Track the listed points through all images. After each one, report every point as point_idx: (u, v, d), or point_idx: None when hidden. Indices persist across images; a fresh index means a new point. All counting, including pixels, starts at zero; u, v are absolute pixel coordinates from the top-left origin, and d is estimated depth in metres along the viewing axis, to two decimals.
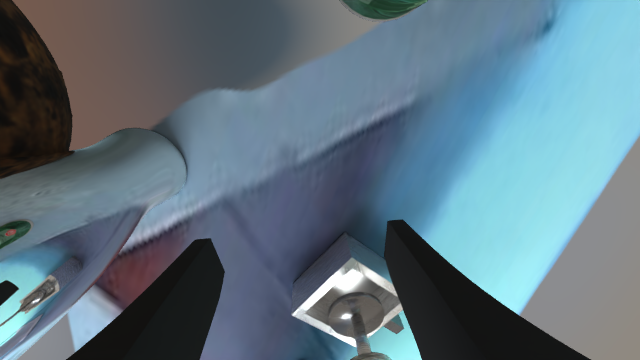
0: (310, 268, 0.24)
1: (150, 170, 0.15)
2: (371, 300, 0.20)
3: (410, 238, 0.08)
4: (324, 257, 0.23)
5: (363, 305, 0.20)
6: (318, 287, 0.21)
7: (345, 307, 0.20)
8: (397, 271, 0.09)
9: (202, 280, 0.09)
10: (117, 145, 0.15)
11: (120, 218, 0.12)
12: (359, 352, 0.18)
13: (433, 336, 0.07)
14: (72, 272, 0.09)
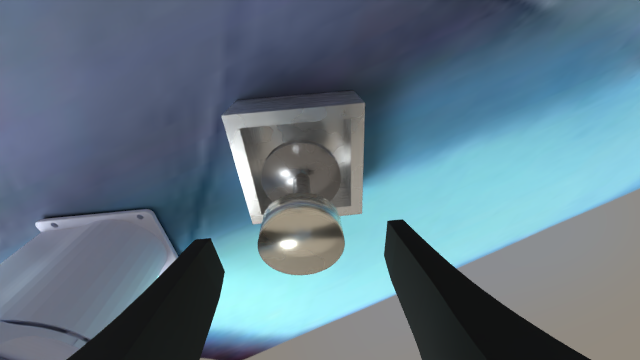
0: (278, 97, 0.16)
1: None
2: (337, 171, 0.14)
3: (410, 238, 0.08)
4: (309, 96, 0.16)
5: (324, 169, 0.14)
6: (290, 108, 0.13)
7: (304, 155, 0.14)
8: (397, 271, 0.09)
9: (202, 280, 0.09)
10: None
11: None
12: None
13: (433, 335, 0.07)
14: None
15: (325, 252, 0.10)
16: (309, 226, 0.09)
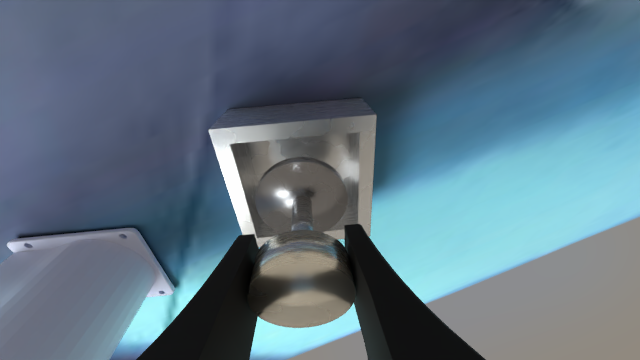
0: (275, 106, 0.14)
1: None
2: (344, 192, 0.12)
3: (360, 243, 0.08)
4: (311, 104, 0.14)
5: (328, 191, 0.12)
6: (289, 121, 0.11)
7: (305, 175, 0.12)
8: None
9: (251, 275, 0.09)
10: None
11: None
12: None
13: (373, 342, 0.07)
14: None
15: (332, 303, 0.08)
16: (312, 276, 0.07)
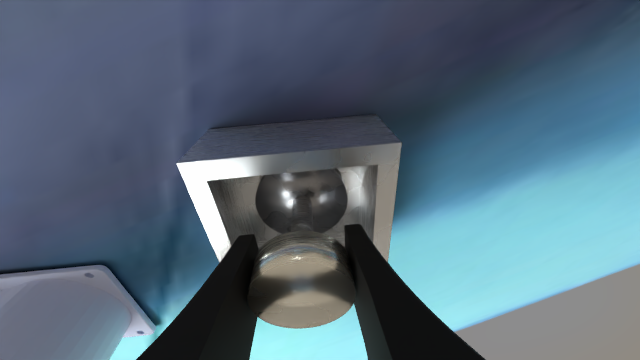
0: (268, 125, 0.11)
1: None
2: (344, 193, 0.12)
3: (360, 243, 0.08)
4: (314, 124, 0.11)
5: (328, 191, 0.12)
6: (285, 151, 0.09)
7: (305, 175, 0.12)
8: None
9: (250, 275, 0.09)
10: None
11: None
12: None
13: (372, 342, 0.07)
14: None
15: (332, 304, 0.08)
16: (312, 277, 0.07)
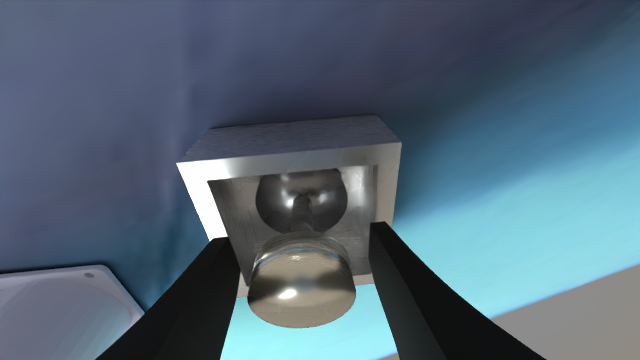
0: (268, 125, 0.11)
1: None
2: (344, 192, 0.12)
3: (390, 240, 0.08)
4: (314, 124, 0.11)
5: (328, 191, 0.12)
6: (285, 151, 0.09)
7: (305, 175, 0.12)
8: (379, 273, 0.09)
9: (222, 278, 0.09)
10: None
11: None
12: None
13: (409, 338, 0.07)
14: None
15: (332, 304, 0.08)
16: (312, 277, 0.07)
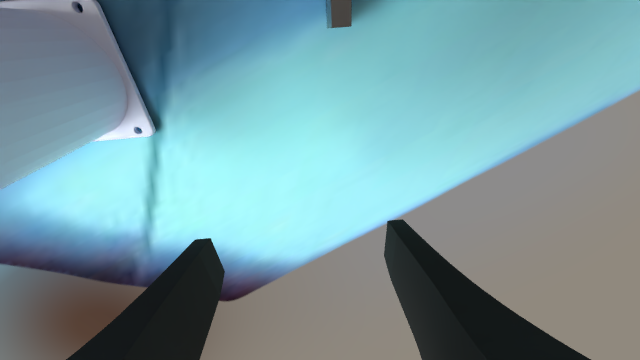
0: None
1: None
2: None
3: (410, 238, 0.08)
4: None
5: None
6: None
7: None
8: (397, 271, 0.09)
9: (202, 280, 0.09)
10: None
11: None
12: None
13: (434, 336, 0.07)
14: None
15: None
16: None
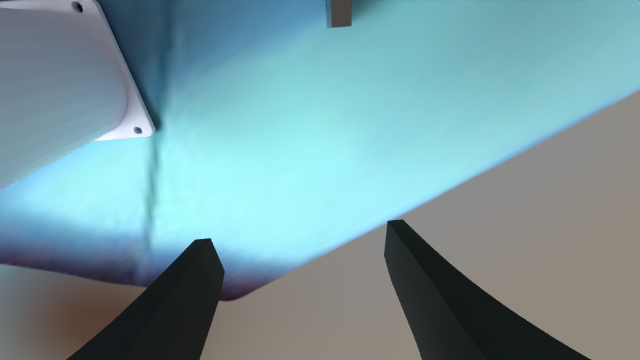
0: None
1: None
2: None
3: (410, 238, 0.08)
4: None
5: None
6: None
7: None
8: (397, 271, 0.09)
9: (202, 280, 0.09)
10: None
11: None
12: None
13: (433, 336, 0.07)
14: None
15: None
16: None
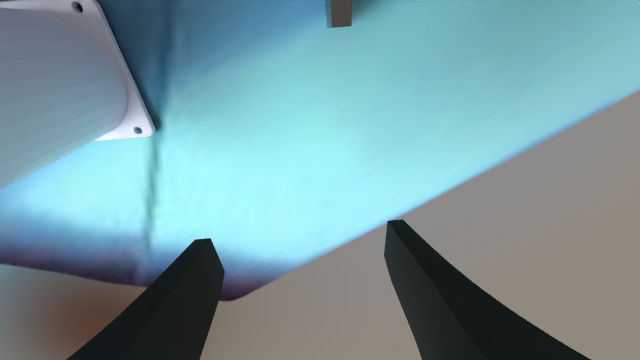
0: None
1: None
2: None
3: (410, 238, 0.08)
4: None
5: None
6: None
7: None
8: (397, 271, 0.09)
9: (202, 280, 0.09)
10: None
11: None
12: None
13: (433, 336, 0.07)
14: None
15: None
16: None
